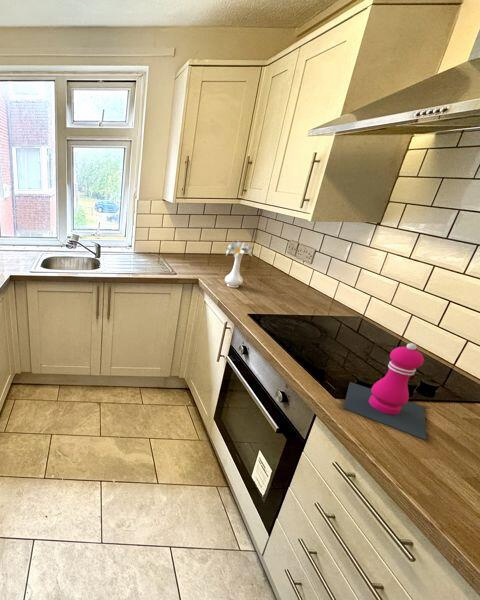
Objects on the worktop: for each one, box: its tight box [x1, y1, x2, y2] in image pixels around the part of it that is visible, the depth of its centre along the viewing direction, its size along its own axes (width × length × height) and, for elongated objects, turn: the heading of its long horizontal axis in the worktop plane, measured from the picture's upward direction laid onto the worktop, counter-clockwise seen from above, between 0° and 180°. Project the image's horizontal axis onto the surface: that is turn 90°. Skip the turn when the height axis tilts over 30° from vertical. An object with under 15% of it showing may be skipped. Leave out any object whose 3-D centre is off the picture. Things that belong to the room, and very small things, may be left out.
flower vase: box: [224, 240, 253, 289], centre depth 173 cm, size 13×18×25 cm
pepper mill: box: [369, 342, 425, 415], centre depth 83 cm, size 7×7×20 cm
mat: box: [342, 381, 428, 441], centre depth 86 cm, size 16×16×1 cm
